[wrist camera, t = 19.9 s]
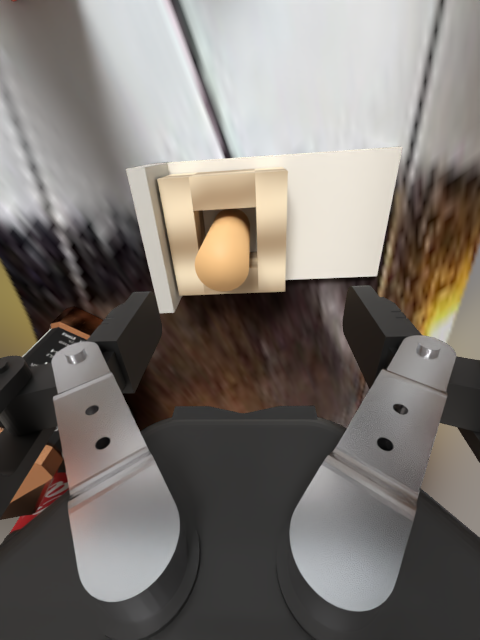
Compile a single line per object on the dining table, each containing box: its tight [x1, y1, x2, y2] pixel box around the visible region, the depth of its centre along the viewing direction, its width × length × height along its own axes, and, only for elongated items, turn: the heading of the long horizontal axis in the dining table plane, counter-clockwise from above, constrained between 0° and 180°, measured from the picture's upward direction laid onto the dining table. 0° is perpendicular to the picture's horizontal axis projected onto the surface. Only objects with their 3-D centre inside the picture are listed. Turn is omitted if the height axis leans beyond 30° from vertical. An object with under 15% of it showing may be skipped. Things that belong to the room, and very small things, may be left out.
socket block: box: [157, 167, 288, 296], centre depth 29 cm, size 11×11×5 cm
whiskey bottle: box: [0, 306, 103, 520], centre depth 28 cm, size 10×10×32 cm
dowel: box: [195, 208, 250, 292], centre depth 26 cm, size 4×4×12 cm
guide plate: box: [126, 147, 403, 313], centre depth 28 cm, size 13×24×8 cm, turn 93°
